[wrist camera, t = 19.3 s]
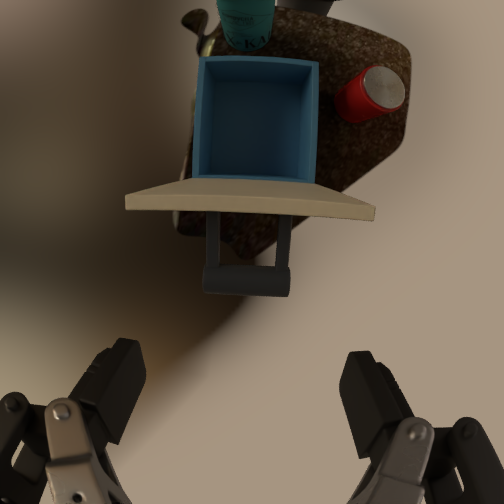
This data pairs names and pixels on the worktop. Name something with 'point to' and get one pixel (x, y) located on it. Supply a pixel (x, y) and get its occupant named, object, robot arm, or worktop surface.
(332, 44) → the worktop surface
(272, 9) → the beverage bottle
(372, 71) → the can
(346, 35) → the worktop surface
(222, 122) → the cool box
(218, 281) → the lid
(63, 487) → the robot arm
